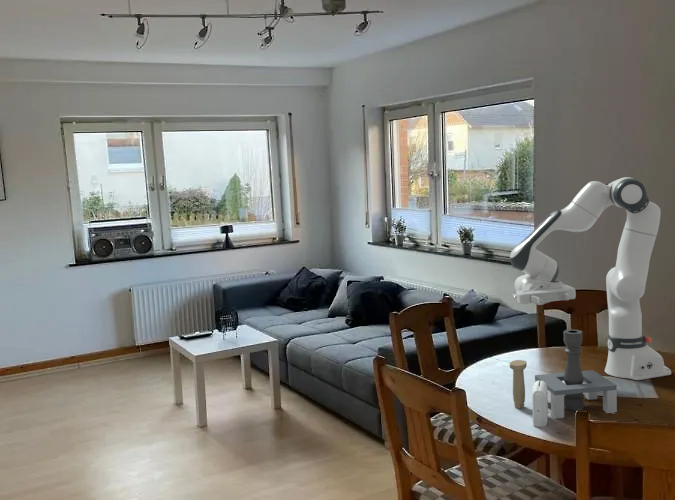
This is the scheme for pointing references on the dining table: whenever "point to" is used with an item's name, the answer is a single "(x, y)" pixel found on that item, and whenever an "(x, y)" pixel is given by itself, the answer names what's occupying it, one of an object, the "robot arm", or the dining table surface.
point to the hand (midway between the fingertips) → (554, 299)
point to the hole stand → (579, 390)
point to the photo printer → (540, 404)
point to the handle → (518, 382)
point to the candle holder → (573, 368)
